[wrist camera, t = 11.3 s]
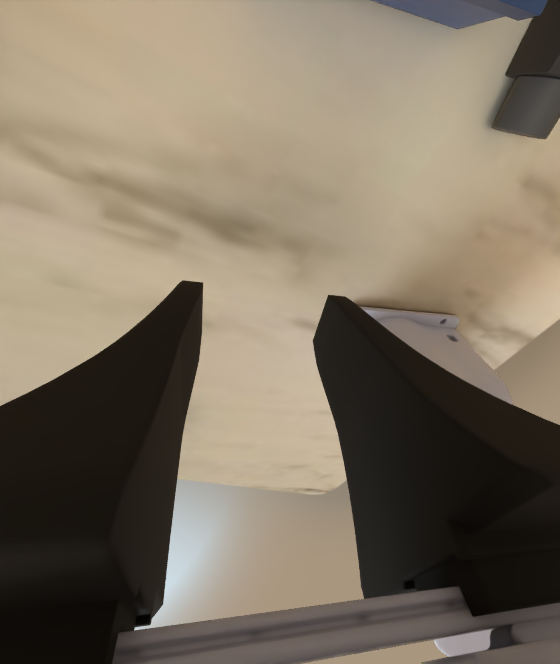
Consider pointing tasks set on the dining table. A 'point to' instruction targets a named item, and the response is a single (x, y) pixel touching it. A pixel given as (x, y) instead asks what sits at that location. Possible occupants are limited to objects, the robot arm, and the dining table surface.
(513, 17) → the blue box
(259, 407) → the dining table surface
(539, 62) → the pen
